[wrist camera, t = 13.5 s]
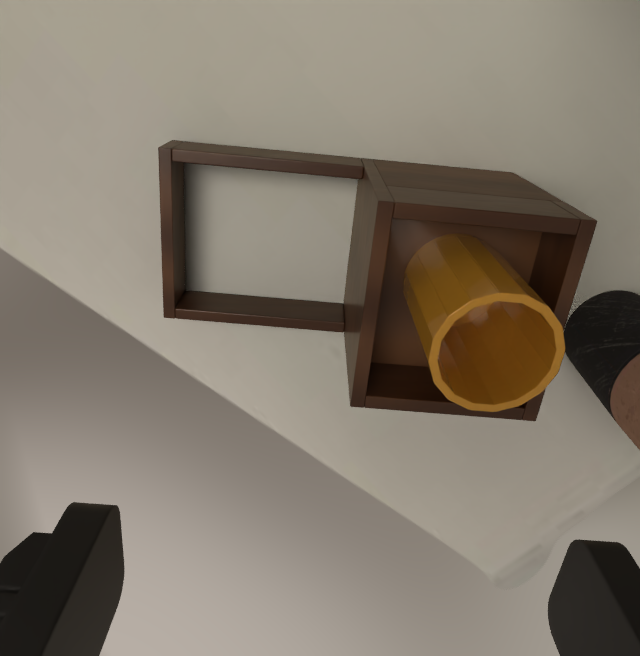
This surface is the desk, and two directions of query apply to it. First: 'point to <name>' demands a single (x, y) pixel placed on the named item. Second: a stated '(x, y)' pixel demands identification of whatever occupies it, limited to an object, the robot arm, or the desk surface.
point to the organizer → (387, 260)
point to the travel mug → (609, 354)
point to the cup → (480, 325)
